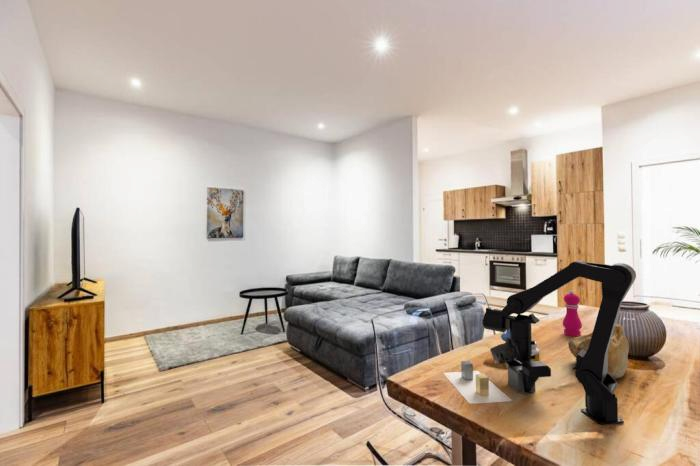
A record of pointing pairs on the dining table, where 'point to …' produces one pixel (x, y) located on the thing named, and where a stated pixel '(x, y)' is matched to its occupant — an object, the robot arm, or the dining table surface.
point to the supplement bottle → (535, 352)
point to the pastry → (495, 363)
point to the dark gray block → (517, 379)
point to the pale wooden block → (482, 384)
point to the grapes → (505, 335)
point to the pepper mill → (572, 315)
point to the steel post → (467, 370)
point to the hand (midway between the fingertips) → (521, 388)
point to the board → (469, 389)
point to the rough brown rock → (615, 351)
